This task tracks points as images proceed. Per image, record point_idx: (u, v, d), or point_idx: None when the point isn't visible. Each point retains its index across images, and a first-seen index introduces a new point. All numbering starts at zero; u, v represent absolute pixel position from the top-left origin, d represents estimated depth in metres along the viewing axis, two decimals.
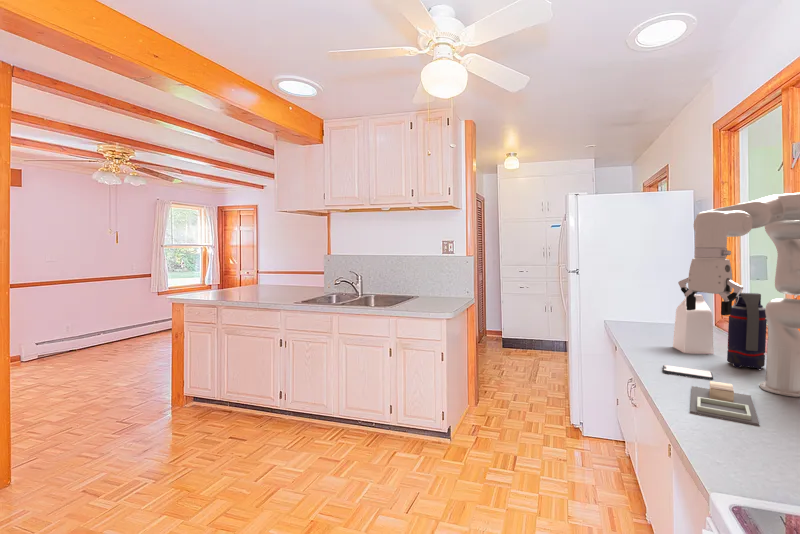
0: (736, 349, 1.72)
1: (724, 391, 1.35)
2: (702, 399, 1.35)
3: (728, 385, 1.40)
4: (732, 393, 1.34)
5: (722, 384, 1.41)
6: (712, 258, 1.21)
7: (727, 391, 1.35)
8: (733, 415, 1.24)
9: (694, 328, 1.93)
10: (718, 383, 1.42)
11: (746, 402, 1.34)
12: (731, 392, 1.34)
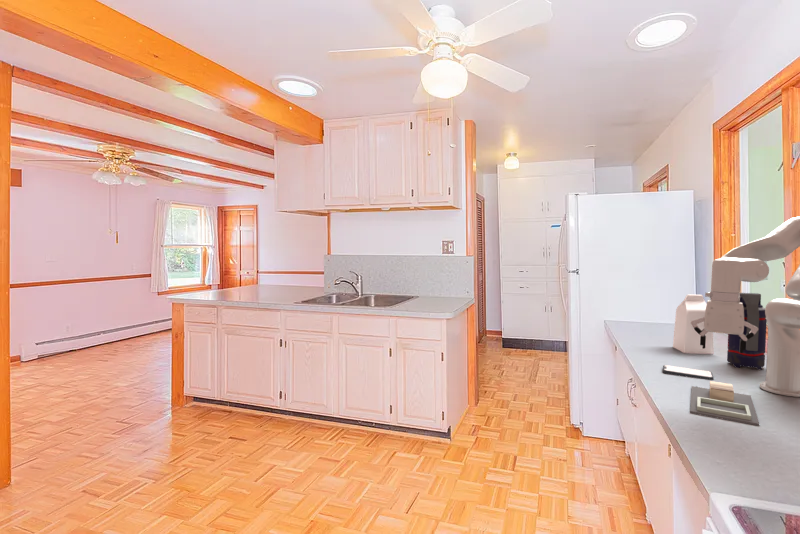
0: (736, 349, 1.72)
1: (724, 391, 1.35)
2: (702, 399, 1.35)
3: (728, 385, 1.40)
4: (732, 393, 1.34)
5: (722, 384, 1.41)
6: None
7: (727, 391, 1.35)
8: (733, 415, 1.24)
9: None
10: (718, 383, 1.42)
11: (746, 402, 1.34)
12: (731, 392, 1.34)
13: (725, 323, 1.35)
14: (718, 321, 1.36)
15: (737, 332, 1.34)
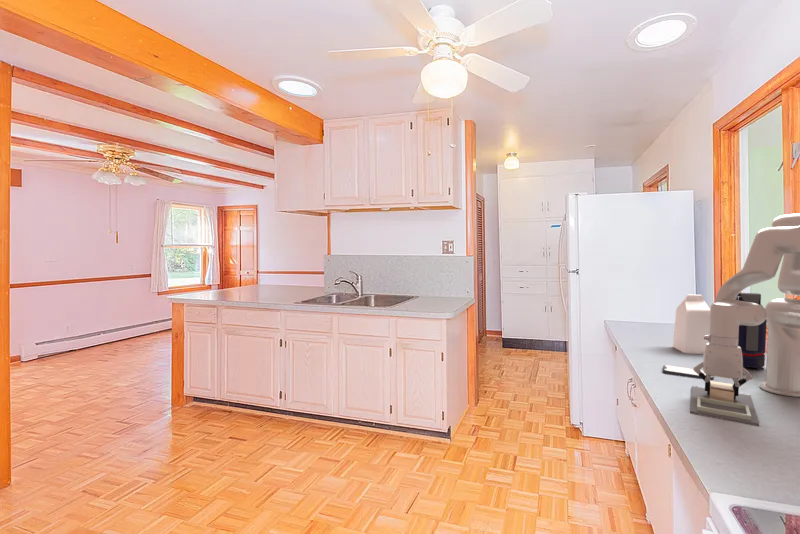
0: None
1: (724, 391, 1.35)
2: (702, 399, 1.35)
3: (728, 385, 1.40)
4: (732, 393, 1.34)
5: (722, 384, 1.41)
6: None
7: (727, 391, 1.35)
8: (733, 415, 1.24)
9: (694, 328, 1.93)
10: (718, 383, 1.42)
11: (746, 402, 1.34)
12: (731, 392, 1.34)
13: (724, 367, 1.36)
14: (717, 365, 1.37)
15: (735, 377, 1.35)
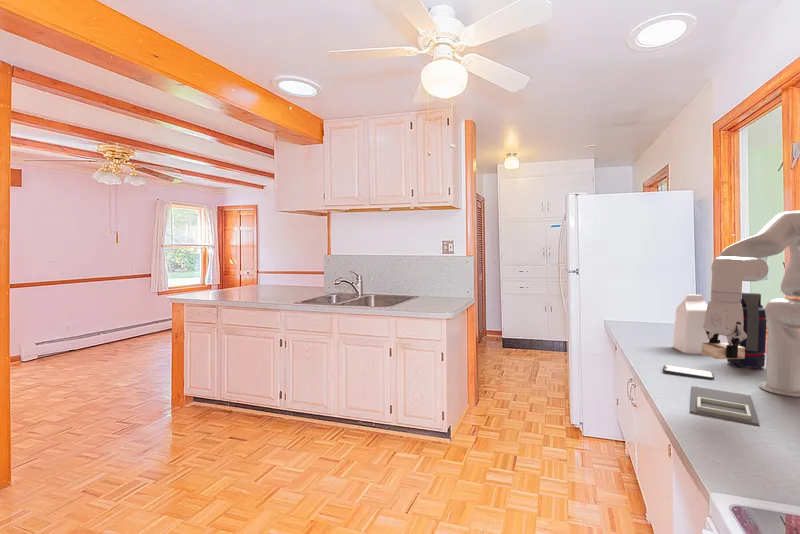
0: None
1: (711, 346, 1.32)
2: (702, 399, 1.35)
3: None
4: (716, 348, 1.30)
5: None
6: None
7: (713, 346, 1.32)
8: (733, 415, 1.24)
9: (694, 328, 1.93)
10: None
11: (746, 402, 1.34)
12: (715, 347, 1.31)
13: (716, 323, 1.32)
14: (712, 320, 1.34)
15: (724, 333, 1.29)
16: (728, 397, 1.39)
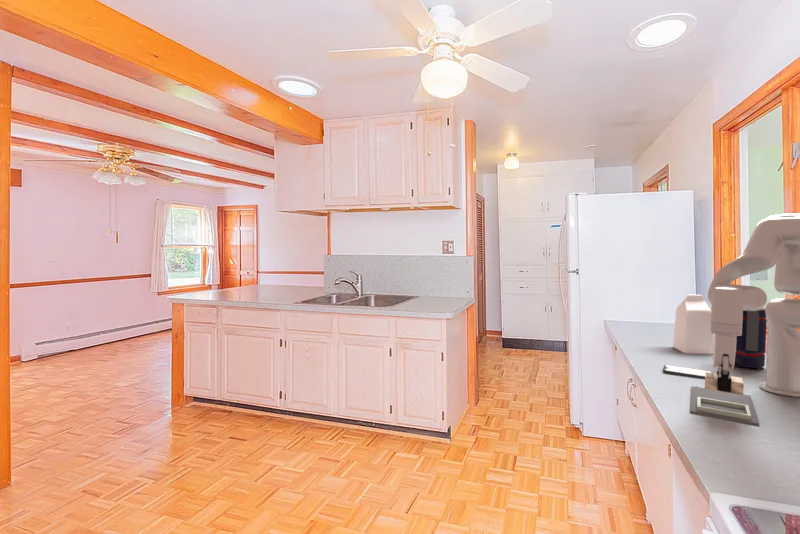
0: (736, 349, 1.72)
1: (705, 376, 1.31)
2: (702, 399, 1.35)
3: (734, 380, 1.26)
4: (705, 378, 1.29)
5: (734, 379, 1.27)
6: None
7: (705, 376, 1.30)
8: (733, 415, 1.24)
9: (694, 328, 1.93)
10: (735, 378, 1.27)
11: (746, 402, 1.34)
12: None
13: (713, 353, 1.29)
14: None
15: (713, 364, 1.27)
16: (728, 397, 1.39)
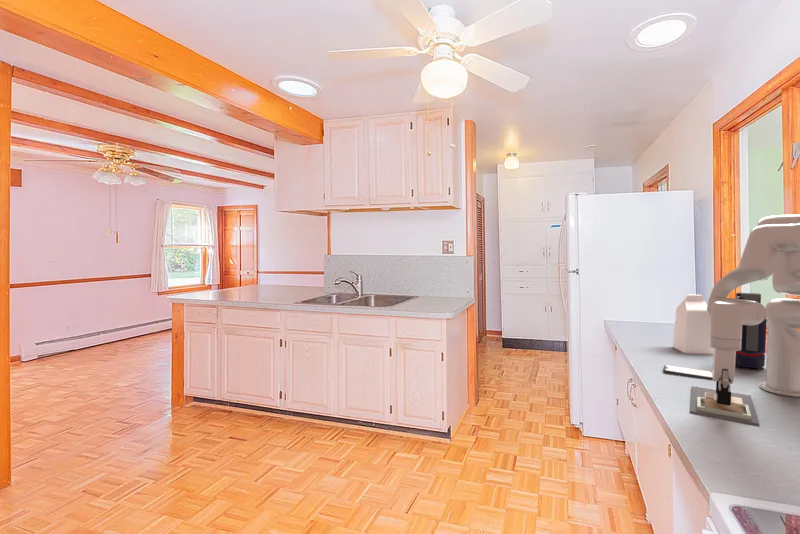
0: None
1: (705, 396, 1.31)
2: (702, 399, 1.35)
3: (733, 401, 1.26)
4: None
5: (733, 400, 1.27)
6: None
7: (705, 396, 1.31)
8: (733, 415, 1.24)
9: (694, 328, 1.93)
10: (735, 399, 1.28)
11: (746, 402, 1.34)
12: (705, 398, 1.30)
13: None
14: None
15: None
16: None
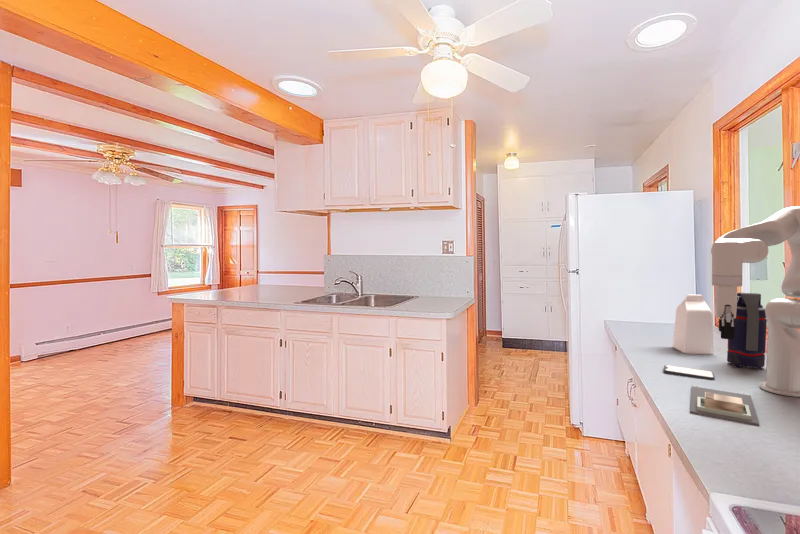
0: (736, 349, 1.72)
1: (705, 396, 1.31)
2: (702, 399, 1.35)
3: (733, 401, 1.26)
4: None
5: (733, 400, 1.27)
6: None
7: (705, 396, 1.31)
8: (733, 415, 1.24)
9: (694, 328, 1.93)
10: (735, 399, 1.28)
11: (746, 402, 1.34)
12: (705, 398, 1.30)
13: (715, 305, 1.34)
14: None
15: (715, 315, 1.32)
16: None
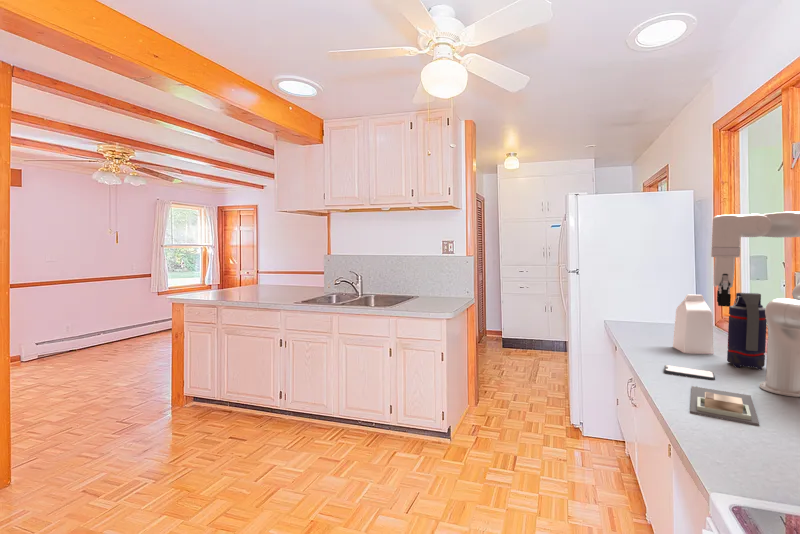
0: (736, 349, 1.72)
1: (705, 396, 1.31)
2: (702, 399, 1.35)
3: (733, 401, 1.26)
4: None
5: (733, 400, 1.27)
6: None
7: (705, 396, 1.31)
8: (733, 415, 1.24)
9: (694, 328, 1.93)
10: (735, 399, 1.28)
11: (746, 402, 1.34)
12: (705, 398, 1.30)
13: None
14: None
15: (714, 284, 1.40)
16: None
